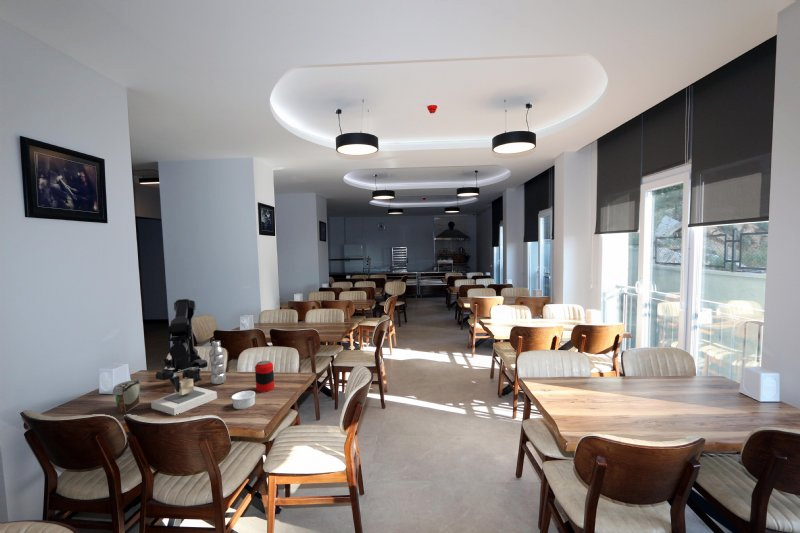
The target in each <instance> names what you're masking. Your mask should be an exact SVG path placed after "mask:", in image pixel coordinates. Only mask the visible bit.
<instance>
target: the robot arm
mask: <svg viewBox="0 0 800 533" xmlns="http://www.w3.org/2000/svg"><path fill="white" fill-rule="evenodd" d="M196 305H197V304H196V301H195V300H190V299H189V298H183V299H182V298H181V299H177V300H176V301H174V302H173V311H174V312H175V315H174V318H173V319H172V320H171V321H170V324H169V325H168V330H167V342H168V343H169V342H172V345H171V347H170V348H169V352H168V353H169V355H170V357H171V359H169V358H164V359H161V368H164V369H161V370H158V371H156V373H155V379H156V380H161V381H166V380H169V381H170V382H171V384H172V387H174V388H175V389H174V391H175V390H176V392H179V381H180V379H181V378H180V376H179V375H178V374H179V373H182V378H185V377H187V378H191V379H193V384H194V383H195V382H199V381H202V380H203V378H202V377H201V373H200V372H201V370H202V369H205V368H208V367H209V364H208V361H207V360H205V359H202V358H201V356H200V355H199V351H198V350H197V348H196V347H195V345H194V334H193V332H194V331H193V322H192V319H193V317H194V315H195V311H196V308H197V307H196Z"/></svg>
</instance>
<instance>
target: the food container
mask: <svg viewBox="0 0 800 533" xmlns="http://www.w3.org/2000/svg"><path fill="white" fill-rule="evenodd" d="M140 385H141V380H140V379H139V378H137V379H132V380H127V381H123V382H120V383H118V384H116V385H114V386H113V388H112V394H113V395H114V397H115V402H116V407H117V412H118V413H119V414H127V413H128V412H130V411H131V410H132V409H134V408H136V407H137V406H139V405H140V402H141V401H140V400H141V398H140Z"/></svg>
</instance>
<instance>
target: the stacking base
mask: <svg viewBox="0 0 800 533" xmlns="http://www.w3.org/2000/svg"><path fill="white" fill-rule="evenodd" d="M193 386H194V385H193ZM216 399H218V391H215V390H211V389H207V388H202V387H198V386H194V391H192V392H189V393H186V394H184V395H180V394H176V393H175V392H173V393H171V394H168V395H164V396H163V397H160V398H157V399H156V398H155V399H154V400H151V401H150V406H151V409H152V410H156V411H159V412H162V413H167V414H168V415H172V416H177V415H179V413H180V414H182V413H185V412H187V411H190V410H191V409H195V408H196V407H199V406H202V405H204V404H206V403H209V402H211V401H214V400H216ZM176 414H177V415H176Z"/></svg>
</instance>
